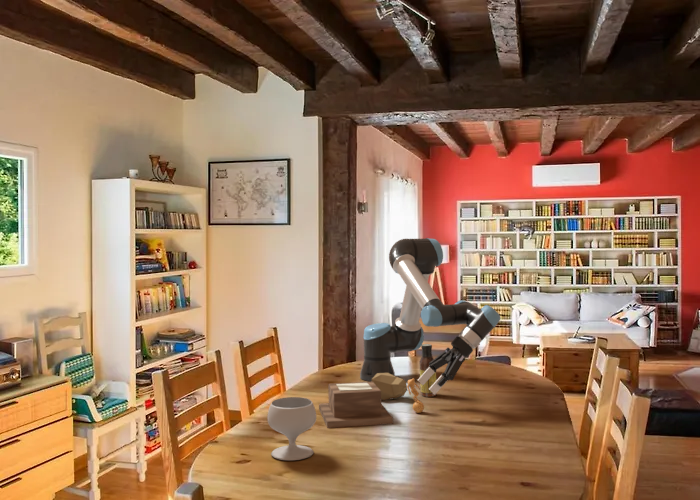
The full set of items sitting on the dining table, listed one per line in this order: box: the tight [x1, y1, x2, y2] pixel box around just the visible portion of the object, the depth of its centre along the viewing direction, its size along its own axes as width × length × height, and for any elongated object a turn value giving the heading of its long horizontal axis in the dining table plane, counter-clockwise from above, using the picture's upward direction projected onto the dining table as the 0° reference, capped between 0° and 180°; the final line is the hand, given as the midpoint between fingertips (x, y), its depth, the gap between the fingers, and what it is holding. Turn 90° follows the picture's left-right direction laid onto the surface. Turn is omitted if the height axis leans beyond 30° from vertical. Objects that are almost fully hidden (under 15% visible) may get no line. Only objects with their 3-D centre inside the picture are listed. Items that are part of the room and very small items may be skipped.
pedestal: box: [318, 381, 394, 429], centre depth 214 cm, size 22×22×10 cm
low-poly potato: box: [371, 373, 408, 401], centre depth 236 cm, size 15×11×12 cm
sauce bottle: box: [419, 343, 438, 398], centre depth 240 cm, size 6×6×20 cm
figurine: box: [406, 377, 425, 414], centre depth 217 cm, size 8×6×12 cm
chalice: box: [266, 396, 317, 461], centre depth 177 cm, size 14×14×15 cm
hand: (425, 387), depth 217 cm, fingers open, 13 cm apart
